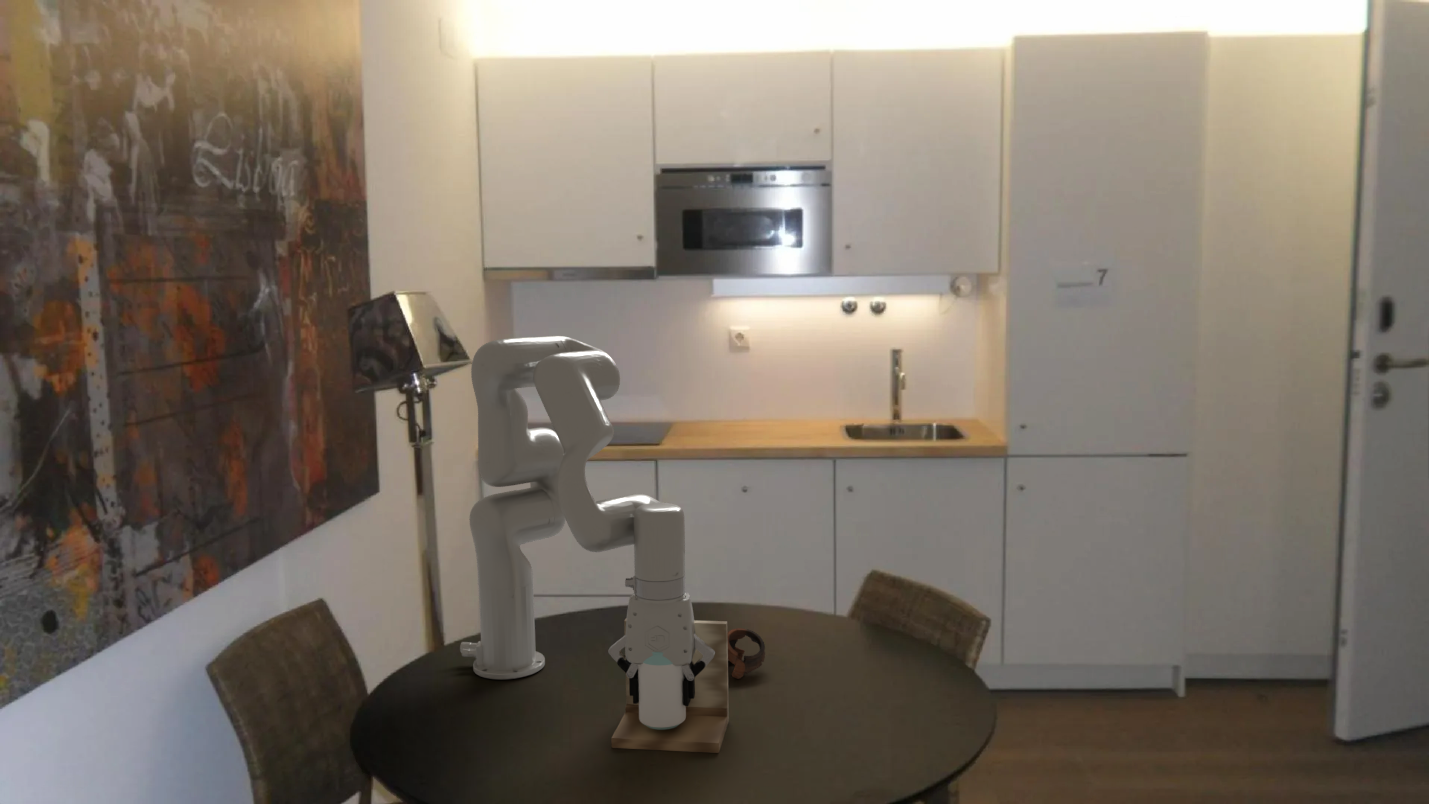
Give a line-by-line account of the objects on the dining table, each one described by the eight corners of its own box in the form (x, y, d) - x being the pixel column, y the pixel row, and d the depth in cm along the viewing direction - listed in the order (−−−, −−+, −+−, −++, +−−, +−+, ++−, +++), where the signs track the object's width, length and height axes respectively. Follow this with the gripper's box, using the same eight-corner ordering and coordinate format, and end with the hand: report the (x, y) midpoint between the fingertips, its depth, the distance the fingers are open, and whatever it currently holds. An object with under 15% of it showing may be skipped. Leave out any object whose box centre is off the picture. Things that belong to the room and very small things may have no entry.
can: (676, 734, 153) (674, 655, 151) (631, 728, 155) (630, 650, 154) (692, 715, 160) (691, 639, 158) (649, 709, 162) (648, 635, 160)
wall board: (611, 747, 154) (608, 642, 152) (628, 716, 165) (625, 618, 163) (718, 752, 152) (717, 646, 150) (728, 720, 163) (727, 621, 161)
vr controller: (756, 659, 190) (769, 628, 186) (756, 699, 182) (769, 668, 178) (692, 645, 189) (703, 614, 185) (689, 686, 181) (701, 653, 177)
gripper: (596, 592, 152) (599, 708, 155) (714, 596, 150) (716, 714, 152) (609, 577, 160) (611, 689, 162) (721, 581, 157) (722, 694, 160)
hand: (662, 700), depth 157 cm, fingers closed on can, 7 cm apart
